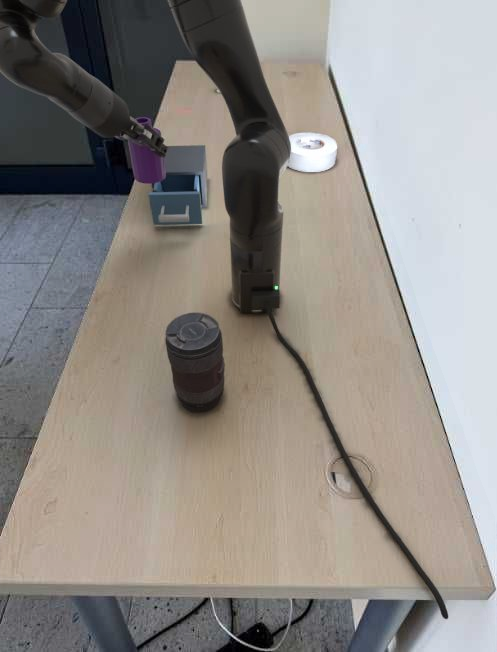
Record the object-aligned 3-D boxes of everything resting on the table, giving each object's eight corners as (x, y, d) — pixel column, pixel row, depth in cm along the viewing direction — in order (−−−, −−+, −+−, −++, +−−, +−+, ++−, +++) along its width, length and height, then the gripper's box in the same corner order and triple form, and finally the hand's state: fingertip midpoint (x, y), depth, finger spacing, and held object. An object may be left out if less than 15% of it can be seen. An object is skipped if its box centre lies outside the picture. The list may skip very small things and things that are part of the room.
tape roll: (339, 152, 143) (342, 135, 139) (329, 175, 132) (332, 158, 129) (289, 146, 146) (290, 129, 143) (275, 168, 136) (276, 150, 132)
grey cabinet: (206, 207, 121) (203, 171, 114) (155, 208, 120) (149, 172, 114) (207, 179, 131) (205, 145, 124) (160, 180, 131) (156, 145, 124)
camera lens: (202, 369, 82) (195, 302, 72) (235, 395, 78) (233, 329, 68) (164, 396, 78) (151, 330, 68) (198, 425, 74) (190, 360, 64)
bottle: (164, 183, 99) (157, 126, 91) (132, 184, 99) (122, 127, 91) (167, 169, 103) (160, 113, 96) (136, 169, 103) (127, 114, 95)
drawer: (201, 238, 109) (198, 207, 104) (150, 239, 109) (145, 208, 104) (204, 195, 123) (202, 166, 118) (159, 196, 123) (154, 167, 118)
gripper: (133, 93, 80) (186, 139, 95) (75, 77, 86) (134, 123, 101) (115, 135, 81) (171, 175, 96) (59, 117, 87) (120, 156, 102)
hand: (152, 148), depth 98 cm, fingers closed on bottle, 6 cm apart
